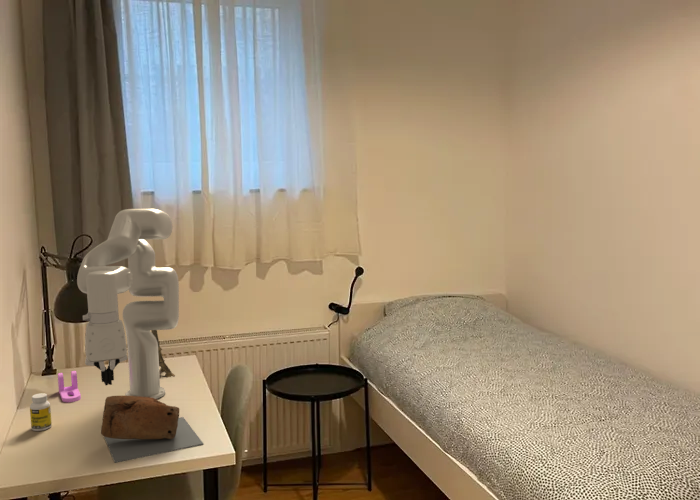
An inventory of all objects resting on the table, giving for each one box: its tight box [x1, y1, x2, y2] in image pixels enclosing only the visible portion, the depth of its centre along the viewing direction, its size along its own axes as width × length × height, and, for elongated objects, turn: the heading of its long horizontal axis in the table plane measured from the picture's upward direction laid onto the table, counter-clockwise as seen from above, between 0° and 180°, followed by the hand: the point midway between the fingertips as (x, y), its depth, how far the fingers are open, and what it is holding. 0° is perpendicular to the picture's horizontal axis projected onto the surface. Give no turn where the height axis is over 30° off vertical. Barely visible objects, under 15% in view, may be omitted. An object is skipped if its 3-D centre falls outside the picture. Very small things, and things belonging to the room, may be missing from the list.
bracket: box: [57, 370, 82, 403], centre depth 221 cm, size 13×6×7 cm, turn 29°
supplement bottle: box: [29, 392, 52, 432], centre depth 194 cm, size 5×5×10 cm
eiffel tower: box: [150, 330, 176, 378], centre depth 241 cm, size 11×11×25 cm
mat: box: [103, 416, 204, 464], centre depth 186 cm, size 22×23×1 cm
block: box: [100, 395, 180, 439], centre depth 183 cm, size 11×8×20 cm
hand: (108, 383), depth 181 cm, fingers closed
